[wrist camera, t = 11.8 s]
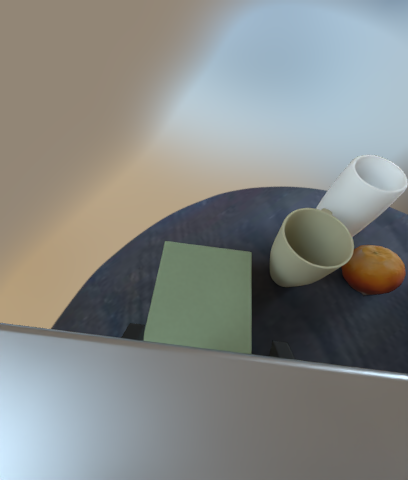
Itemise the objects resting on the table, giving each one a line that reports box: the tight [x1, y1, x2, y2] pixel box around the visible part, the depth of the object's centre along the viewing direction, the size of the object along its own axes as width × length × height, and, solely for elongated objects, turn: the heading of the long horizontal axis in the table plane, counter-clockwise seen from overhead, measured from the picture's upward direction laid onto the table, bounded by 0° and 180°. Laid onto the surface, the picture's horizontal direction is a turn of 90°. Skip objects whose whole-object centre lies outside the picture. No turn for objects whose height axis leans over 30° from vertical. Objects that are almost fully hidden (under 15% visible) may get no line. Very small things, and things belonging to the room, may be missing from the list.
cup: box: [316, 155, 408, 237], centre depth 39 cm, size 8×8×14 cm
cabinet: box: [144, 241, 252, 354], centre depth 31 cm, size 13×11×9 cm
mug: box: [270, 208, 354, 287], centre depth 35 cm, size 11×10×12 cm
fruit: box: [341, 245, 405, 296], centre depth 38 cm, size 8×8×8 cm
